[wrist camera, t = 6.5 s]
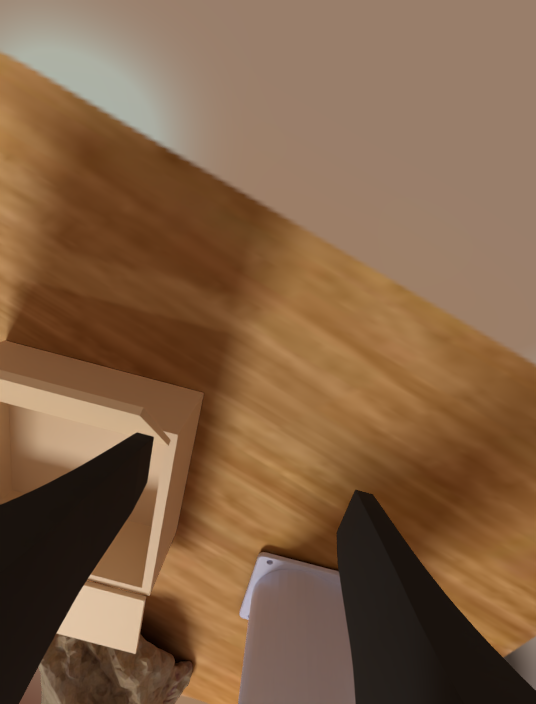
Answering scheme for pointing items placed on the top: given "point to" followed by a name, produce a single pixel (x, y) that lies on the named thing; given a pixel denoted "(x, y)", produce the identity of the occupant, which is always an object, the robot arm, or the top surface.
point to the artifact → (110, 674)
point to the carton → (80, 447)
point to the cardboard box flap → (78, 406)
